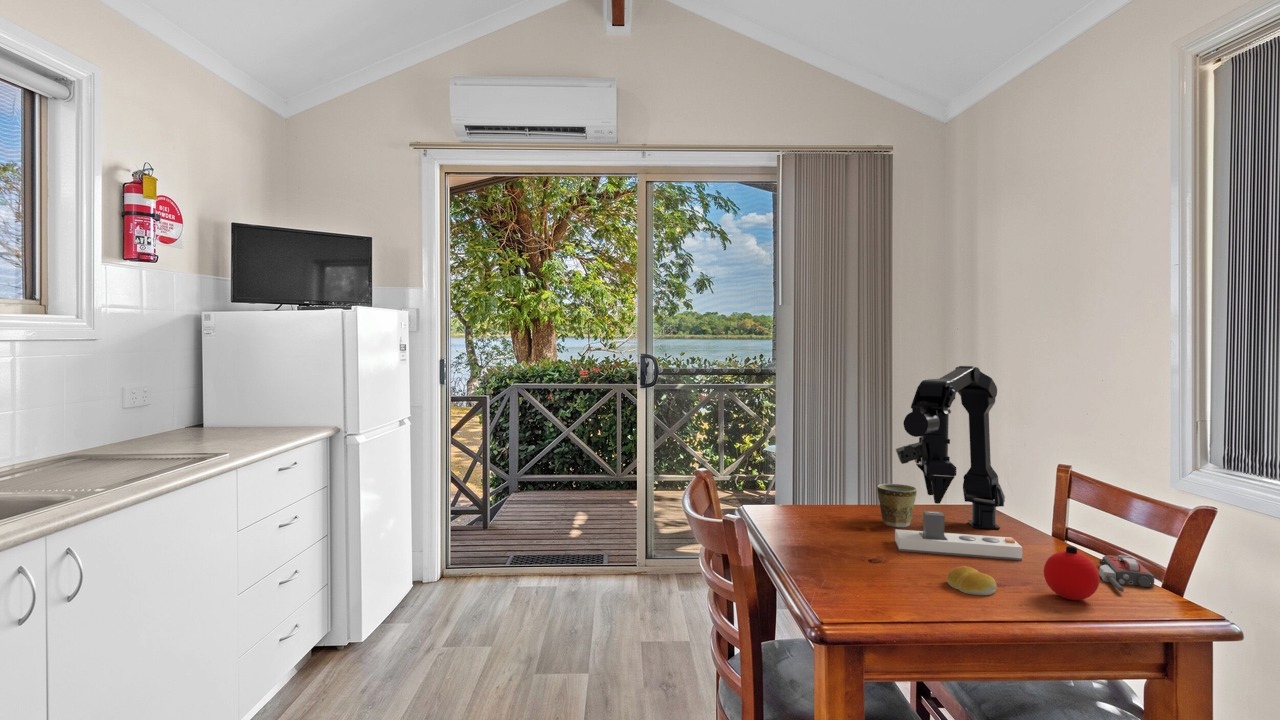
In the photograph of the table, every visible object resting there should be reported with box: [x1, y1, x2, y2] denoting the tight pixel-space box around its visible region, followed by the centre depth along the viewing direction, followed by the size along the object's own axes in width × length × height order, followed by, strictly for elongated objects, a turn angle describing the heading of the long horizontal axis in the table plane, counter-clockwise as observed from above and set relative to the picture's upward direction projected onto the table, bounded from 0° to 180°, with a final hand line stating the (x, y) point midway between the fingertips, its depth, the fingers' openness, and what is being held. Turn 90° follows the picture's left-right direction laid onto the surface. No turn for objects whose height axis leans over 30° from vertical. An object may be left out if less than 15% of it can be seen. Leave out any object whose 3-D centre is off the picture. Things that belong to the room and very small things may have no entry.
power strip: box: [894, 528, 1023, 561], centre depth 158 cm, size 8×26×4 cm, turn 76°
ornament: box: [1043, 545, 1101, 601], centre depth 128 cm, size 9×9×10 cm
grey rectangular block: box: [922, 510, 945, 540], centre depth 159 cm, size 4×4×8 cm
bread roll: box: [946, 565, 997, 596], centre depth 134 cm, size 8×9×4 cm
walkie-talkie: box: [1098, 554, 1155, 593], centre depth 138 cm, size 9×4×20 cm
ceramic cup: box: [876, 483, 918, 528], centre depth 183 cm, size 13×10×10 cm
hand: (933, 499), depth 159 cm, fingers open, 9 cm apart
